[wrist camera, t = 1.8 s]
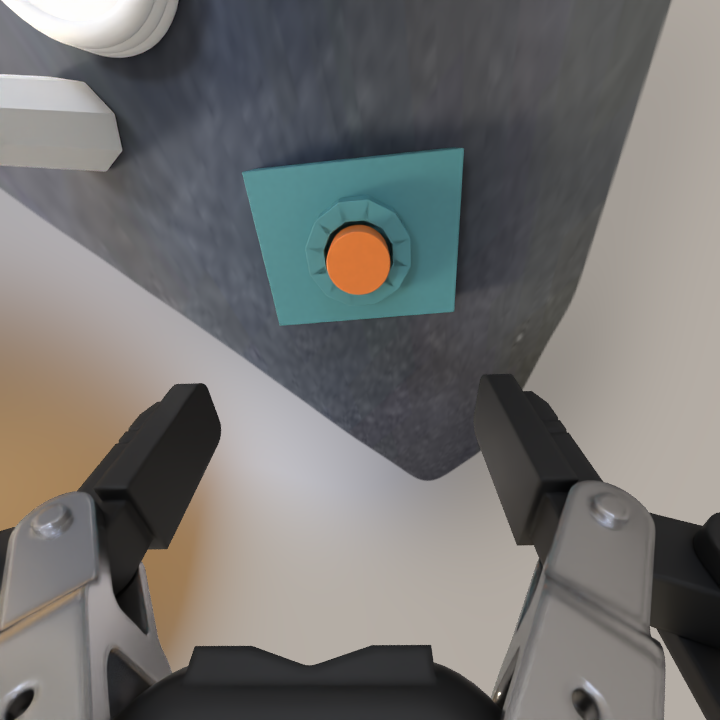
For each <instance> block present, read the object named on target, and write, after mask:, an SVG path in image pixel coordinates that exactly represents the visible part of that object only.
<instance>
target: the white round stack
mask: <svg viewBox="0 0 720 720" xmlns="http://www.w3.org/2000/svg"><path fill="white" fill-rule="evenodd" d="M2 1H3V2H4V3H5V4H6V5H7V6H8V7H9V8H10V9H12V10H13V11H14V12H15V13H16V14H17V15H18V16H20V17H21V18H22V19H23V20H25V21H26V22H27V23H29V24H30V25H31V26H33V27H34V28H36V29H37V30H39V31H40V32H42V33H44V34H45V35H47V36H49V37H50V38H53V39H55V40H57V41H59V42H61V43H64V44H67V45H70V46H74V47H76V48H79V49H82V50H86V51H89V52H91V53H94V54H98V55H101V56H106V57H112V58H125V57H131V56H135V55H138V54H141V53H143V52H145V51H147V50H149V49H150V48H152V47H153V46H154V45H156V44H157V43H158V42H159V41H160V40H161V39H162V37H163V36H164V35H165V34H166V32H167V31H168V29H169V27H170V25H171V23H172V21H173V18H174V16H175V13H176V10H177V6H178V1H179V0H2Z"/></svg>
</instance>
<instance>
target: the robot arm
mask: <svg viewBox="0 0 720 720" xmlns="http://www.w3.org/2000/svg"><path fill="white" fill-rule="evenodd" d="M474 430H475V435H476V438H477V441H478V443H479V446H480V449H481V451H482V454H483V456H484V459H485V462H486V464H487V467H488V470H489V472H490V475H491V477H492V480H493V483H494V486H495V488H496V491H497V494H498V496H499V499H500V501H501V504H502V507H503V509H504V512H505V515H506V517H507V520H508V523H509V525H510V528H511V531H512V533H513V536H514V538H515V541H516V544H517V545H534V547H535V549H536V552H537V554H538V556H539V560H538V562H537V564H536V567H535V570H534V573H533V576H532V579H531V583H530V586H529V589H528V592H527V595H526V598H525V601H524V604H523V607H522V610H521V613H520V616H519V619H518V622H517V625H516V628H515V631H514V634H513V637H512V640H511V643H510V645H509V648H508V651H507V653H506V656H505V658H504V661H503V664H502V667H501V669H500V672H499V675H498V678H497V681H496V684H495V687H494V690H493V693H492V696H491V698H490V697H489V696H488V695H486V694H485V693H484V692H483V691H482V690H481V689H480V688H478V687H477V686H476V685H475V684H474V683H472V682H471V681H469V680H468V679H466V678H465V677H463V676H462V675H461V674H459V673H457V672H455V671H453V670H451V669H449V668H447V667H445V666H443V665H440V664H437V663H434V662H433V656H432V649H431V645H372V646H369V647H366V648H363V649H360V650H357V651H354V652H351V653H348V654H345V655H342V656H340V657H337V658H334V659H331V660H328V661H325V662H322V663H319V664H316V665H310V666H309V665H303V664H300V663H298V662H295V661H292V660H289V659H286V658H283V657H281V656H278V655H275V654H273V653H270V652H267V651H264V650H261V649H259V648H256V647H253V646H195V648H194V651H193V654H192V656H191V659H190V662H189V665H188V666H187V667H184V668H182V669H180V670H178V671H176V672H174V673H172V671H171V668H170V665H169V663H168V660H167V658H166V656H165V654H164V652H163V650H162V648H161V645H160V642H159V639H158V635H157V629H156V624H155V619H154V614H153V608H152V603H151V598H150V592H149V587H148V582H147V576H146V571H145V567H144V565H143V563H142V562H141V561H142V559H143V557H144V555H145V553H146V552H147V550H148V549H168V546H169V544H170V542H171V540H172V538H173V536H174V534H175V532H176V530H177V527H178V526H179V524H180V522H181V520H182V518H183V516H184V513H185V511H186V509H187V507H188V505H189V503H190V501H191V499H192V497H193V495H194V493H195V490H196V489H197V487H198V485H199V482H200V480H201V478H202V476H203V474H204V472H205V470H206V468H207V466H208V464H209V462H210V460H211V458H212V456H213V454H214V452H215V449H216V447H217V445H218V443H219V440H220V436H221V424H220V421H219V418H218V415H217V412H216V410H215V407H214V404H213V402H212V399H211V396H210V393H209V391H208V388H207V387H206V385H205V384H202V383H199V384H176V385H174V386H173V387H172V388H171V389H170V390H169V392H168V393H167V394H166V395H165V397H164V398H163V399H162V401H161V402H157V403H155V404H154V405H152V406H151V407H150V408H148V409H147V410H146V411H144V412H143V413H142V414H140V415H139V417H138V418H137V419H136V420H135V421H134V423H133V424H132V425H131V426H130V428H129V431H128V432H125V433H124V435H123V436H122V437H121V438H120V439H119V443H118V444H115V446H114V447H113V448H112V449H111V451H110V452H109V453H108V454H107V455H106V456H105V458H104V459H103V460H102V461H101V463H100V464H99V465H98V466H97V468H96V469H95V470H94V471H93V472H92V474H91V475H90V476H89V477H88V478H87V480H86V481H85V482H84V483H83V484H82V486H81V487H80V488H79V489H78V491H77V492H69V493H65V494H62V495H59V496H57V497H54V498H52V499H50V500H48V501H46V502H44V503H43V504H41V505H40V506H38V507H37V508H36V509H34V510H32V511H31V512H30V513H29V514H28V515H26V516H25V517H24V518H23V519H22V520H21V521H20V522H19V524H18V525H17V526H16V527H13V528H9V529H6V530H3V531H0V720H664V700H665V656H664V652H663V648H662V646H661V644H660V642H658V641H657V640H656V639H654V638H652V637H651V634H650V626H651V627H654V628H656V629H657V630H658V632H659V634H660V636H661V638H662V639H663V641H664V643H665V645H666V647H667V649H668V650H669V652H670V654H671V656H672V658H673V659H674V661H675V663H676V665H677V667H678V669H679V671H680V672H681V674H682V676H683V678H684V680H685V681H686V683H687V685H688V687H689V689H690V690H691V692H692V694H693V696H694V698H695V700H696V702H697V703H698V705H699V707H700V709H701V711H702V712H703V714H704V716H705V718H706V719H707V720H720V513H716V514H714V515H712V516H711V517H710V518H709V519H708V520H707V522H706V523H705V524H704V525H703V526H701V525H697V524H692V523H688V522H684V521H680V520H676V519H672V518H668V517H664V516H660V515H656V514H652V513H649V512H648V511H647V509H646V508H645V507H644V506H643V505H642V504H641V503H640V502H639V501H638V500H637V499H636V498H634V497H633V496H631V495H630V494H629V493H627V492H626V491H624V490H622V489H620V488H618V487H616V486H614V485H611V484H608V483H605V482H603V481H602V480H601V478H600V477H599V475H598V474H597V472H596V471H595V470H594V468H593V467H592V465H591V464H590V462H589V461H588V460H587V458H586V457H585V455H584V454H583V453H582V451H581V450H580V448H579V447H578V445H577V444H576V443H575V441H574V440H573V438H572V437H571V435H570V434H569V433H567V432H566V428H565V427H564V425H563V424H562V423H561V421H560V420H558V417H557V415H556V414H555V413H554V411H553V410H552V408H551V407H550V406H549V404H548V403H547V402H546V401H544V400H543V399H542V398H540V397H539V396H538V395H536V394H535V393H533V392H532V391H522V389H521V387H520V386H519V384H518V383H517V381H516V379H515V378H514V377H513V375H511V374H493V375H483V376H482V377H481V379H480V384H479V390H478V395H477V401H476V407H475V412H474Z"/></svg>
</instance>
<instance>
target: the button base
mask: <svg viewBox="0 0 720 720" xmlns="http://www.w3.org/2000/svg"><path fill="white" fill-rule="evenodd" d="M463 157H464V148H455V147H452V148H442V149H433V150H424V151H415V152H406V153H397V154H387V155H378V156H369V157H360V158H351V159H341V160H332V161H323V162H314V163H305V164H296V165H286V166H277V167H268V168H259V169H253V170H249V171H245V172H242V174H243V178H244V182H245V186H246V190H247V194H248V198H249V203H250V207H251V211H252V215H253V219H254V223H255V227H256V231H257V235H258V239H259V243H260V247H261V251H262V255H263V259H264V263H265V267H266V271H267V275H268V279H269V284H270V288H271V292H272V296H273V300H274V304H275V308H276V312H277V316H278V320H279V324H280V326H282V325H295V324H307V323H319V322H332V321H344V320H357V319H369V318H382V317H394V316H406V315H419V314H431V313H444V312H454V305H455V289H456V272H457V256H458V239H459V223H460V207H461V190H462V174H463ZM351 225H366V226H369V227H372V228H373V229H375V230H376V231H378V232H379V233H380V234H381V235H382V237H383V238H384V239H385V241H386V244H387V246H388V251H389V255H390V271H389V274H388V276H387V278H386V280H385V282H384V283H383V284H382V285H381V286H380V287H379V288H378V289H376V290H375V291H373V292H370V293H368V294H363V295H354V294H350V293H347V292H345V291H343V290H341V289H340V288H338V287H337V286H336V285H335V284H334V283H333V281H332V280H331V278H330V276H329V274H328V271H327V265H326V261H327V255H328V251H329V248H330V245H331V243H332V241H333V239H334V237H335V236H336V235H337V234H338V233H339V232H340V231H341V230H342V229H344V228H346V227H348V226H351Z"/></svg>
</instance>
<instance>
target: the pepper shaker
mask: <svg viewBox="0 0 720 720" xmlns="http://www.w3.org/2000/svg"><path fill="white" fill-rule="evenodd" d="M122 151H123V150H122V146H121V141H120V136H119V132H118V127H117V123H116V118H115V114H114V113H113V112H112V111H111V109H110V108H109V107H108V106H107V105H106V104H105V103H104V102H103V101H102V100H101V99H100V98H99V97H98V96H97V95H96V94H95V93H94V91H93V90H92V89H91V88H90V87H89V86H88V85H87V84H86V83H85V82H82V81H75V80H68V79H62V78H55V77H45V76H26V75H6V74H0V165H2V166H18V167H35V168H53V169H70V170H88V171H106V172H107V170H108V169H109V168H110V166H111V165H112V164H113V162H114V161H115V160H116V158H117V157H118V156H119V154H120V153H121V152H122Z"/></svg>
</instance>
